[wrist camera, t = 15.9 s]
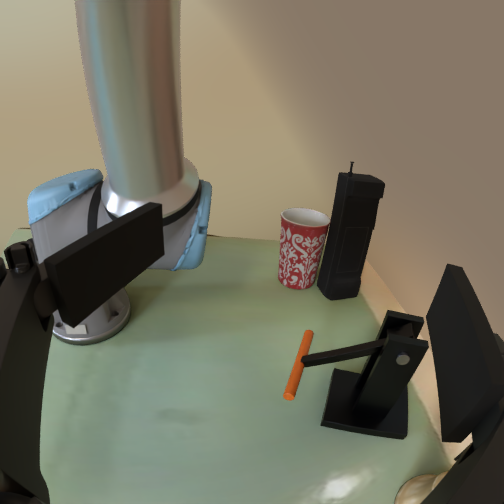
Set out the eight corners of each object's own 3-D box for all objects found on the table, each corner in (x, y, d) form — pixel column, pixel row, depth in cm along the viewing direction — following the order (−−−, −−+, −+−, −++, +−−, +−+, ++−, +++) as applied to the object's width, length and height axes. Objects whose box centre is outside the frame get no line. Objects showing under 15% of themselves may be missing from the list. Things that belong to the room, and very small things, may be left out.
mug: (299, 298, 55) (311, 229, 49) (263, 277, 60) (270, 212, 54) (336, 275, 63) (349, 215, 57) (303, 259, 68) (312, 201, 62)
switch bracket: (320, 425, 31) (355, 346, 25) (332, 374, 39) (359, 293, 33) (403, 439, 28) (459, 365, 22) (403, 387, 36) (445, 311, 30)
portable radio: (348, 280, 62) (373, 160, 50) (362, 296, 56) (393, 169, 45) (314, 283, 60) (336, 156, 48) (327, 301, 55) (355, 164, 43)
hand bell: (380, 518, 19) (471, 453, 12) (414, 465, 25) (491, 379, 18) (435, 544, 14) (544, 485, 7) (463, 489, 20) (552, 410, 13)
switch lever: (287, 404, 30) (278, 390, 29) (308, 340, 39) (301, 327, 38) (419, 383, 23) (416, 366, 23) (411, 315, 33) (407, 299, 32)
